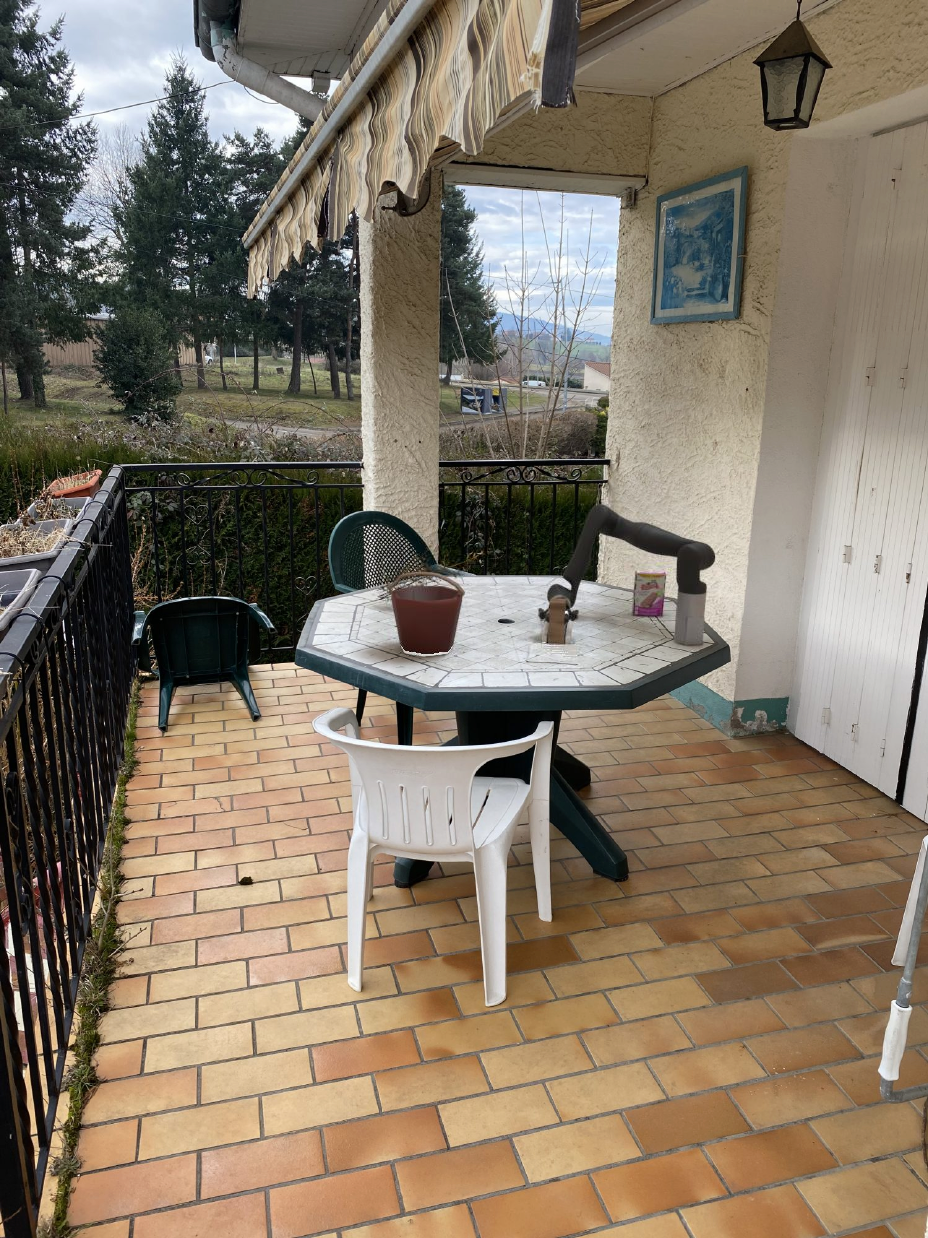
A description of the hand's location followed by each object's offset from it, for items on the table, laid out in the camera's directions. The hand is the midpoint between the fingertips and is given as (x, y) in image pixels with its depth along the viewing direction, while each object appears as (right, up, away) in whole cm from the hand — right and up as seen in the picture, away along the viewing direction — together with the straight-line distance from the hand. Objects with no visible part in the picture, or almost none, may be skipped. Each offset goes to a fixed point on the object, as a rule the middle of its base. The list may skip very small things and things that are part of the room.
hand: (556, 620), depth 293 cm
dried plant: (-43, +4, +45) cm, 62 cm away
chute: (+2, -5, +14) cm, 15 cm away
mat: (-2, -11, -8) cm, 13 cm away
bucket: (-42, -9, -4) cm, 44 cm away
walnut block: (0, -7, +5) cm, 8 cm away
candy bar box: (+38, +2, +41) cm, 56 cm away
